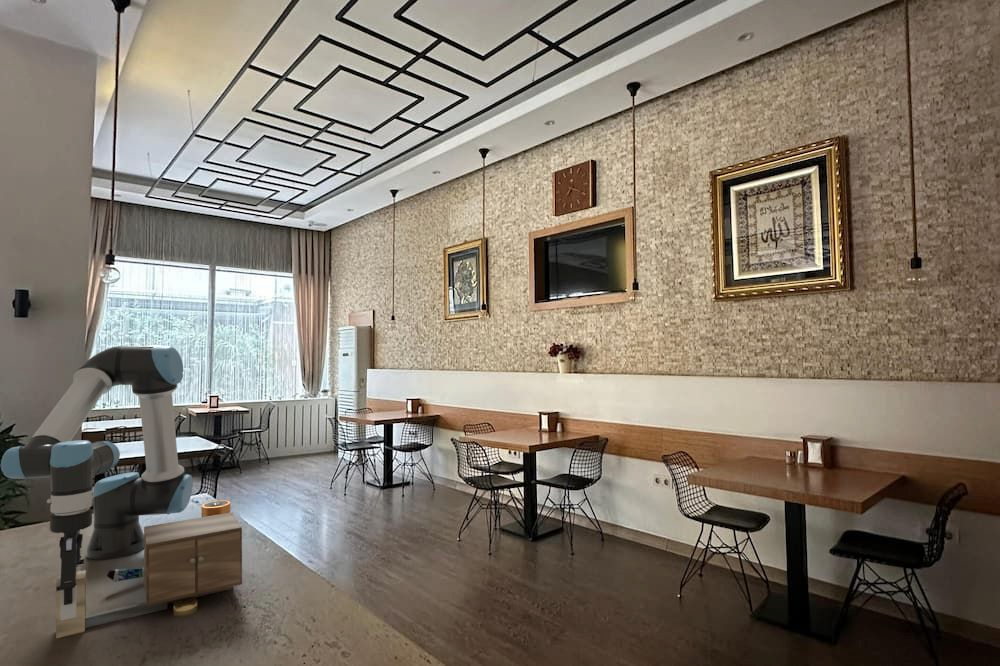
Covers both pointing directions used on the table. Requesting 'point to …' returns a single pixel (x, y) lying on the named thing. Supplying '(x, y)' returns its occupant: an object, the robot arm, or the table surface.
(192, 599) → the token
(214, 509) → the battery
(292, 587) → the table surface
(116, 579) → the knife
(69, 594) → the robot arm
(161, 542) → the cabinet
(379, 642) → the table surface
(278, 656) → the table surface
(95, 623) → the blade tool
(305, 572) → the table surface
